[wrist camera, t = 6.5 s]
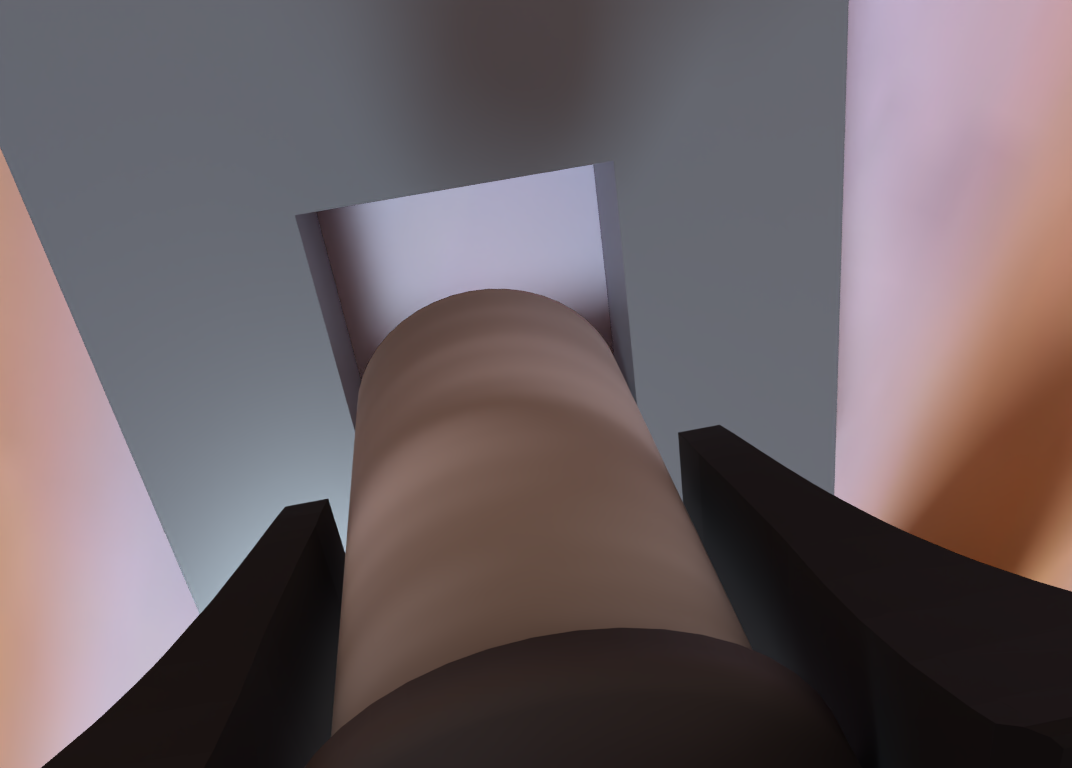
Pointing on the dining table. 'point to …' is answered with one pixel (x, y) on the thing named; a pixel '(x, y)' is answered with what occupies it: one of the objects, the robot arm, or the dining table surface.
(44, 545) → the dining table surface
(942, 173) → the dining table surface
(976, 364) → the dining table surface
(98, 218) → the socket block
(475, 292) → the capped peg
